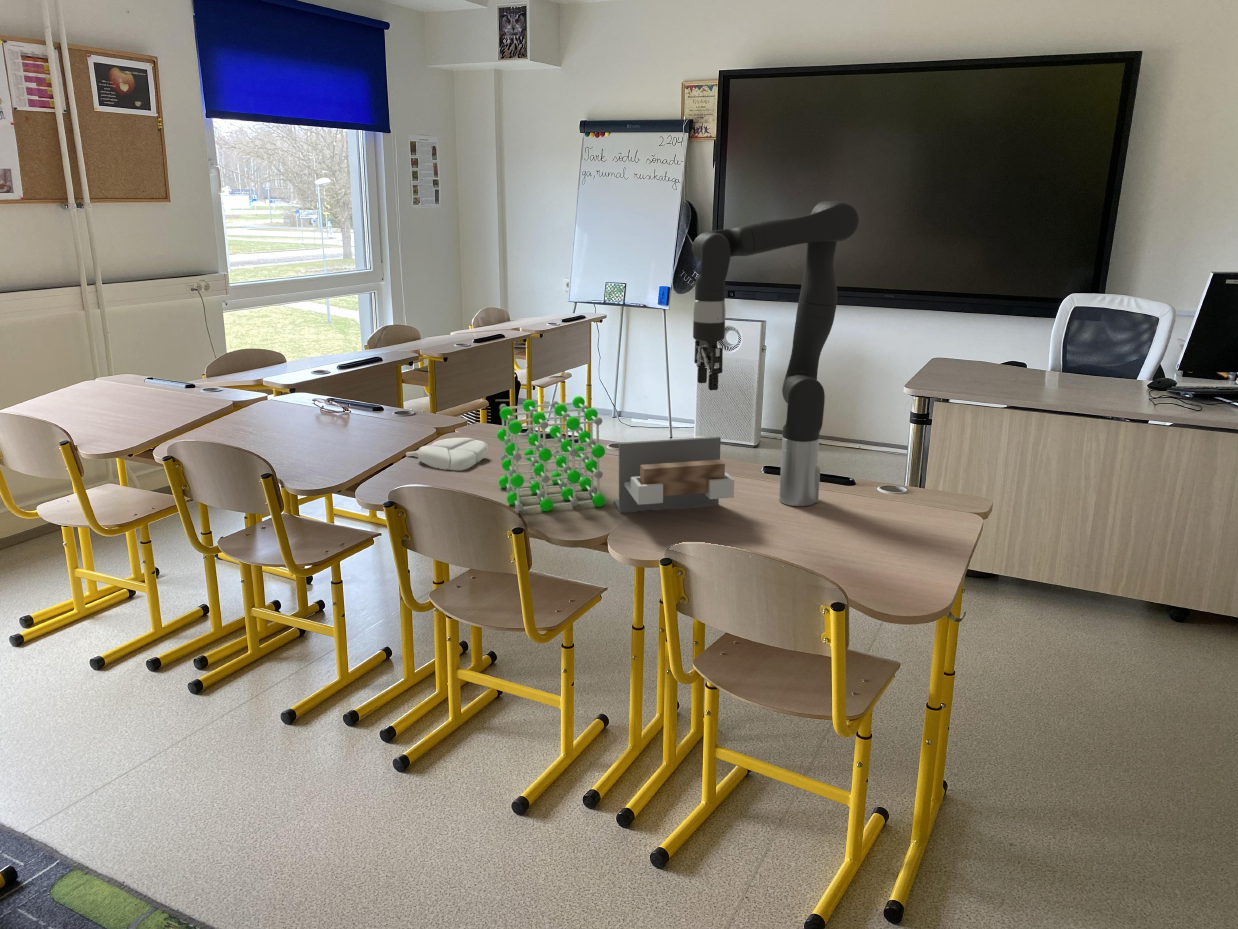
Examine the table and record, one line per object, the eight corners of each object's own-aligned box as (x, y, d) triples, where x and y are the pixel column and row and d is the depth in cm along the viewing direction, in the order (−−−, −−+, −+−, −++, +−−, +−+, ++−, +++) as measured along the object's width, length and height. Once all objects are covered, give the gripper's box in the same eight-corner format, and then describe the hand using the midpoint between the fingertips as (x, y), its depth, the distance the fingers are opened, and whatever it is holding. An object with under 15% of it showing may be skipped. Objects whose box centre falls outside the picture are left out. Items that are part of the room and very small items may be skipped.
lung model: (465, 472, 262) (391, 471, 271) (493, 457, 278) (423, 457, 287) (462, 450, 261) (388, 449, 270) (491, 436, 276) (420, 436, 285)
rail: (719, 486, 224) (720, 459, 222) (724, 491, 221) (725, 463, 219) (640, 492, 220) (640, 464, 218) (643, 497, 217) (643, 469, 215)
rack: (709, 496, 242) (711, 430, 237) (737, 524, 222) (740, 453, 217) (613, 503, 237) (613, 436, 231) (633, 533, 217) (633, 460, 211)
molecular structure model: (512, 516, 228) (509, 422, 221) (498, 486, 251) (494, 399, 244) (606, 508, 234) (606, 415, 227) (584, 479, 257) (583, 394, 250)
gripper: (734, 322, 211) (732, 391, 216) (714, 314, 225) (712, 379, 229) (703, 324, 210) (701, 393, 214) (685, 315, 223) (684, 381, 228)
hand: (707, 386), depth 222 cm, fingers open, 8 cm apart
